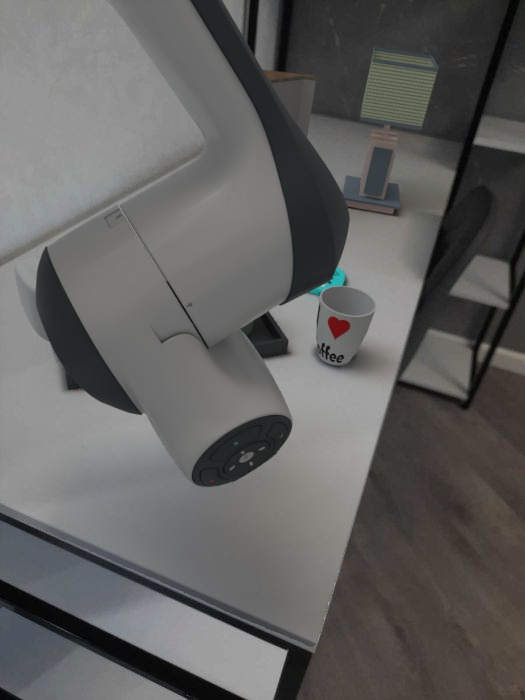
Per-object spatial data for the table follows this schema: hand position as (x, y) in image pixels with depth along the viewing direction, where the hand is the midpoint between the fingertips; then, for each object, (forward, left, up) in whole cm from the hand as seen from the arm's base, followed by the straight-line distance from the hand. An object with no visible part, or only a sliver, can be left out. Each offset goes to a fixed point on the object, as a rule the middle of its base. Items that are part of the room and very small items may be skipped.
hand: (119, 239), depth 52 cm
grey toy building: (+40, +60, -24) cm, 76 cm away
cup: (+32, +4, -24) cm, 40 cm away
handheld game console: (+37, +27, -24) cm, 52 cm away
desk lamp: (+72, +60, -24) cm, 97 cm away
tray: (+9, +14, -24) cm, 29 cm away
